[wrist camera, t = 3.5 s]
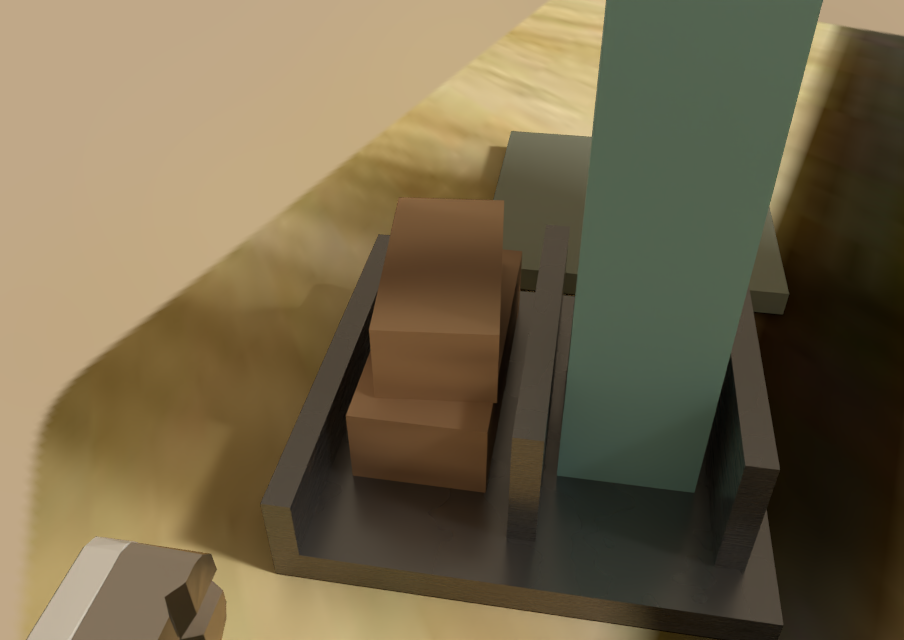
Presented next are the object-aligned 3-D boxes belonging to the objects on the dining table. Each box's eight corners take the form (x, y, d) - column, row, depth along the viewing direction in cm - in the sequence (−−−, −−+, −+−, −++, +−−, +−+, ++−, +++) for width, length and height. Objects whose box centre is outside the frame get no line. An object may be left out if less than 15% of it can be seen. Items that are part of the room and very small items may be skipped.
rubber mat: (510, 148, 44) (511, 131, 43) (751, 167, 42) (755, 148, 42) (476, 285, 35) (476, 264, 34) (782, 314, 33) (789, 293, 32)
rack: (383, 297, 34) (375, 187, 31) (732, 333, 32) (761, 219, 29) (275, 573, 24) (248, 450, 21) (774, 646, 22) (825, 525, 19)
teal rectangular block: (567, 365, 29) (634, -273, 18) (687, 378, 29) (832, -272, 18) (556, 475, 25) (633, -249, 14) (694, 493, 25) (887, -246, 14)
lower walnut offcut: (414, 296, 32) (412, 241, 31) (519, 307, 32) (522, 251, 30) (352, 475, 25) (345, 415, 24) (485, 492, 25) (487, 432, 23)
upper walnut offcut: (401, 259, 30) (399, 197, 28) (501, 262, 30) (504, 200, 28) (374, 397, 24) (368, 330, 23) (497, 403, 24) (499, 335, 23)
